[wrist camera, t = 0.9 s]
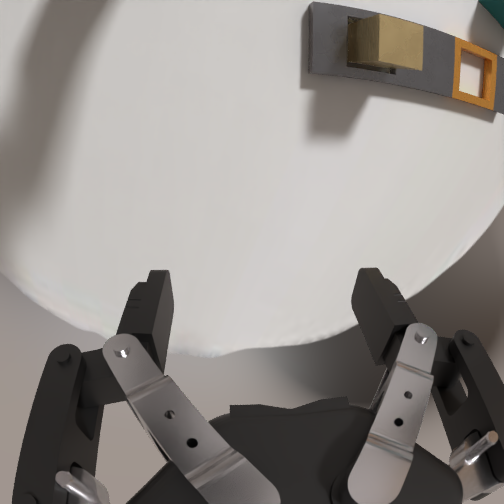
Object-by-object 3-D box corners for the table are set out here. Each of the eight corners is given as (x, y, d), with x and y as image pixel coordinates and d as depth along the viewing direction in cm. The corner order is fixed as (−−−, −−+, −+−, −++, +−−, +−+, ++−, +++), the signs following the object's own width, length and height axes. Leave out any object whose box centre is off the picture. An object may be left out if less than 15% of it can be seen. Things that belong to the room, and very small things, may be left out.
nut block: (348, 24, 26) (379, 13, 19) (385, 31, 26) (423, 25, 19) (347, 61, 28) (378, 60, 21) (384, 67, 28) (422, 70, 22)
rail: (309, 4, 25) (313, 1, 23) (501, 59, 26) (508, 60, 25) (308, 73, 29) (312, 73, 27) (497, 112, 30) (504, 114, 29)
